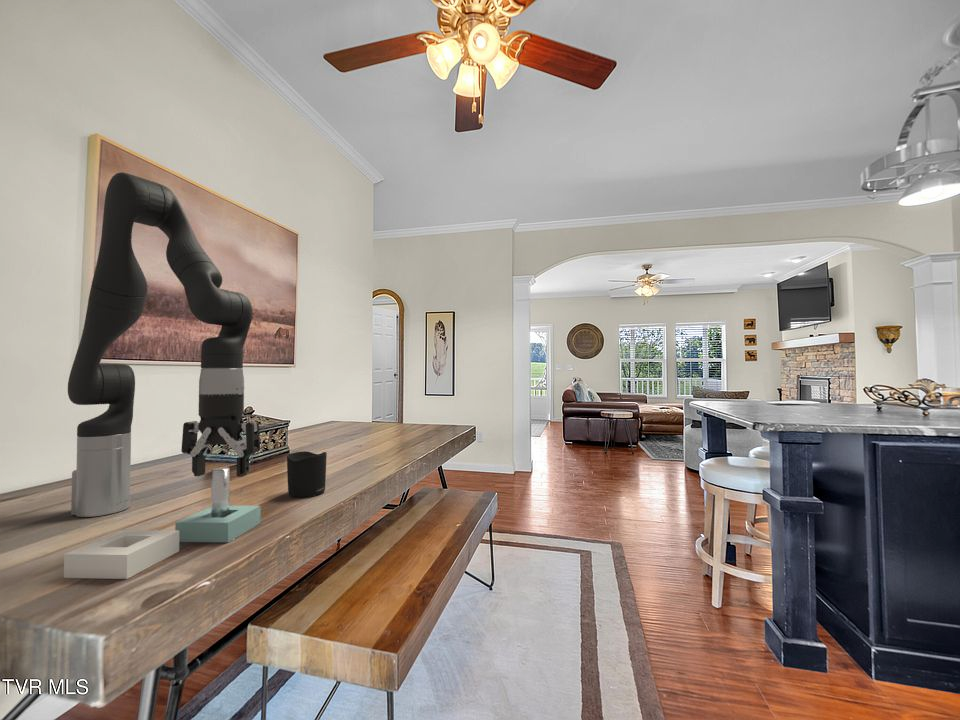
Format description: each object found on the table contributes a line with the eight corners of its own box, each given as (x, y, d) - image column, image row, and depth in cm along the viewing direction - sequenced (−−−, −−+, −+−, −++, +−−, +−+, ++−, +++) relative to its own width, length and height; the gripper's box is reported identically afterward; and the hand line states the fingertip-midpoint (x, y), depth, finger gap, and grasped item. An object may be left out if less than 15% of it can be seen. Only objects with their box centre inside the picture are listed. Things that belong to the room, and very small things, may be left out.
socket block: (63, 577, 64) (64, 554, 64) (124, 550, 74) (124, 529, 74) (126, 578, 63) (127, 554, 63) (179, 551, 73) (179, 530, 73)
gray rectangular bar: (207, 534, 80) (207, 470, 81) (217, 529, 83) (218, 467, 84) (222, 535, 80) (222, 470, 81) (232, 529, 83) (233, 467, 84)
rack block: (175, 541, 77) (175, 522, 77) (213, 522, 87) (213, 505, 87) (228, 542, 76) (228, 522, 77) (260, 523, 86) (260, 505, 87)
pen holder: (291, 501, 102) (291, 459, 102) (282, 492, 109) (283, 453, 110) (331, 494, 107) (331, 454, 108) (320, 486, 115) (320, 449, 115)
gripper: (171, 392, 80) (170, 480, 79) (245, 392, 79) (244, 481, 78) (200, 391, 87) (199, 471, 87) (268, 390, 86) (267, 471, 86)
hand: (220, 475), depth 82 cm, fingers open, 8 cm apart
